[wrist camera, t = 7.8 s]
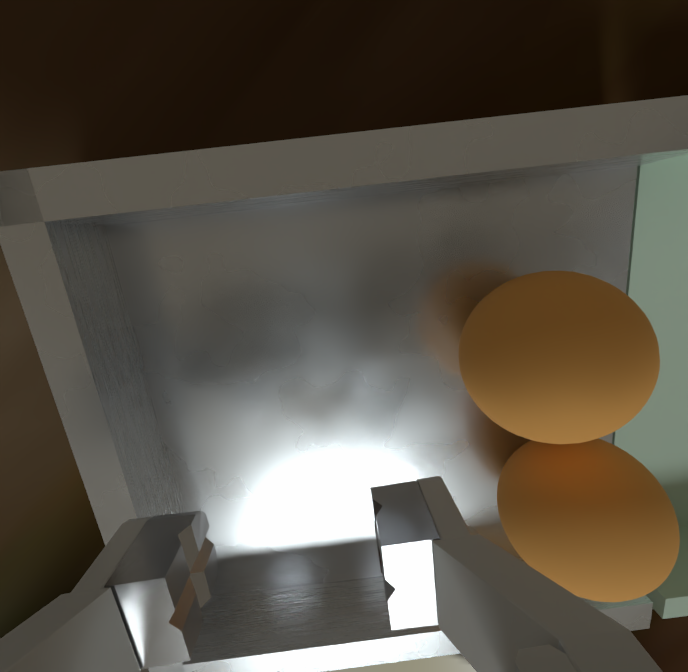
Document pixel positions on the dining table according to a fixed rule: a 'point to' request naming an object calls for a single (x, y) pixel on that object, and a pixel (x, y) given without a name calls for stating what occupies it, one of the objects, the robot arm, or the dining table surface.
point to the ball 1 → (559, 357)
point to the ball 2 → (589, 518)
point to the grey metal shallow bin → (309, 343)
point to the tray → (663, 350)
